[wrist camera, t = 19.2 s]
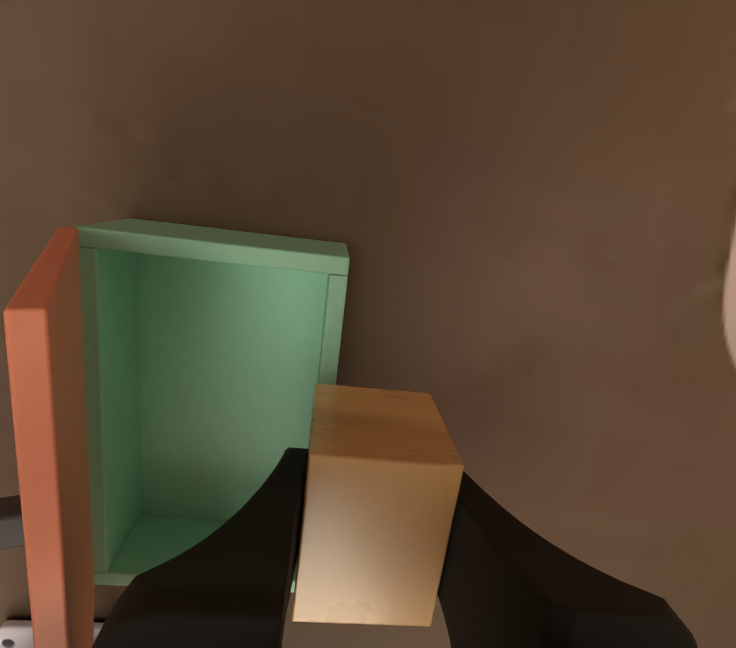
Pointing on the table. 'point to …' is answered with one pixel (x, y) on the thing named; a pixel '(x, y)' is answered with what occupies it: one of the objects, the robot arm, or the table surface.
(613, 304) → the table surface
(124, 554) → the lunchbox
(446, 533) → the block
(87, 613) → the lid
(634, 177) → the table surface
